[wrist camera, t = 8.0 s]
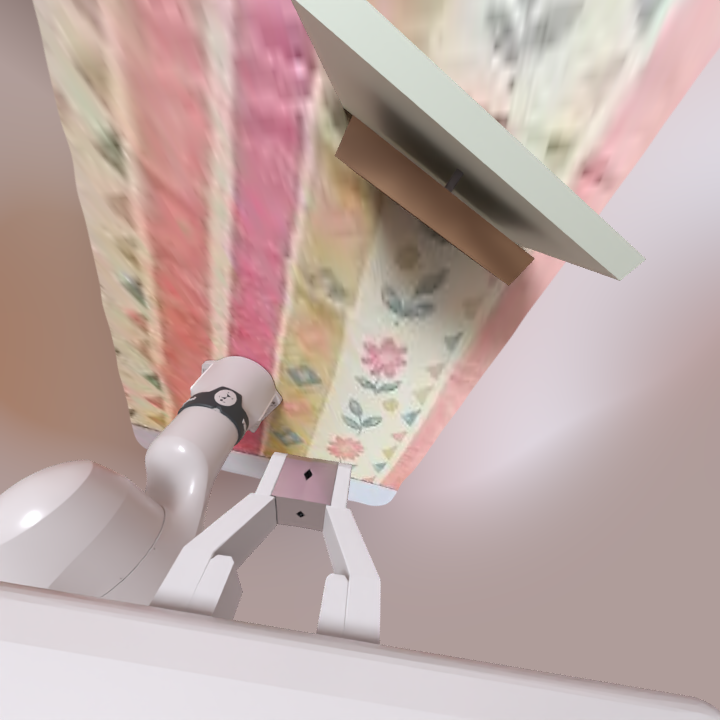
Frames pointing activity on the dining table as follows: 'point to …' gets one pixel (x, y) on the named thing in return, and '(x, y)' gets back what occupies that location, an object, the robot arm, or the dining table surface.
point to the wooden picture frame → (430, 201)
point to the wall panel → (455, 137)
